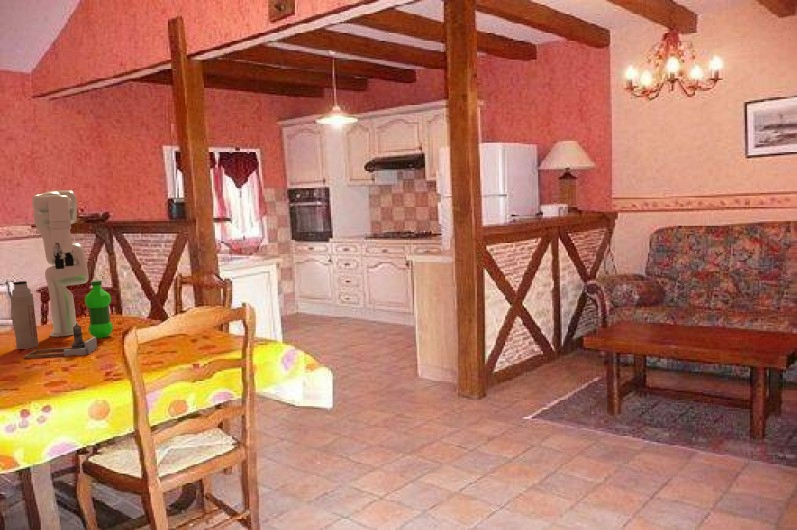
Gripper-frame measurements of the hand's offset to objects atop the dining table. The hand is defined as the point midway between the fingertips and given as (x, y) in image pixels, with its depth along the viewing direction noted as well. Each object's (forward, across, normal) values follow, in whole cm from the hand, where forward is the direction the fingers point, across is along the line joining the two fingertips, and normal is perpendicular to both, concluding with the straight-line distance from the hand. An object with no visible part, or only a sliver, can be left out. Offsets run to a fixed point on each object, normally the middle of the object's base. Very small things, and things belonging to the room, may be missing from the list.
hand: (65, 267), depth 269 cm
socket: (+33, +12, +7) cm, 36 cm away
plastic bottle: (+34, -16, +6) cm, 38 cm away
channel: (+33, +12, -4) cm, 36 cm away
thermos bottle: (+34, -4, -20) cm, 39 cm away
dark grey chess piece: (+34, +12, +7) cm, 36 cm away
